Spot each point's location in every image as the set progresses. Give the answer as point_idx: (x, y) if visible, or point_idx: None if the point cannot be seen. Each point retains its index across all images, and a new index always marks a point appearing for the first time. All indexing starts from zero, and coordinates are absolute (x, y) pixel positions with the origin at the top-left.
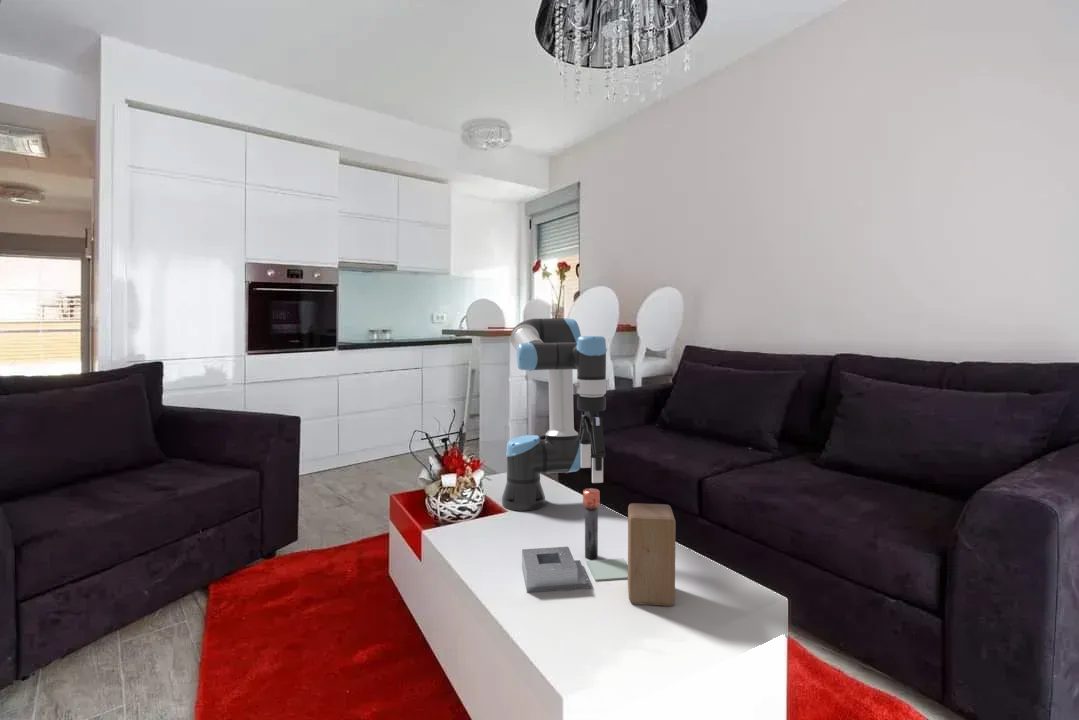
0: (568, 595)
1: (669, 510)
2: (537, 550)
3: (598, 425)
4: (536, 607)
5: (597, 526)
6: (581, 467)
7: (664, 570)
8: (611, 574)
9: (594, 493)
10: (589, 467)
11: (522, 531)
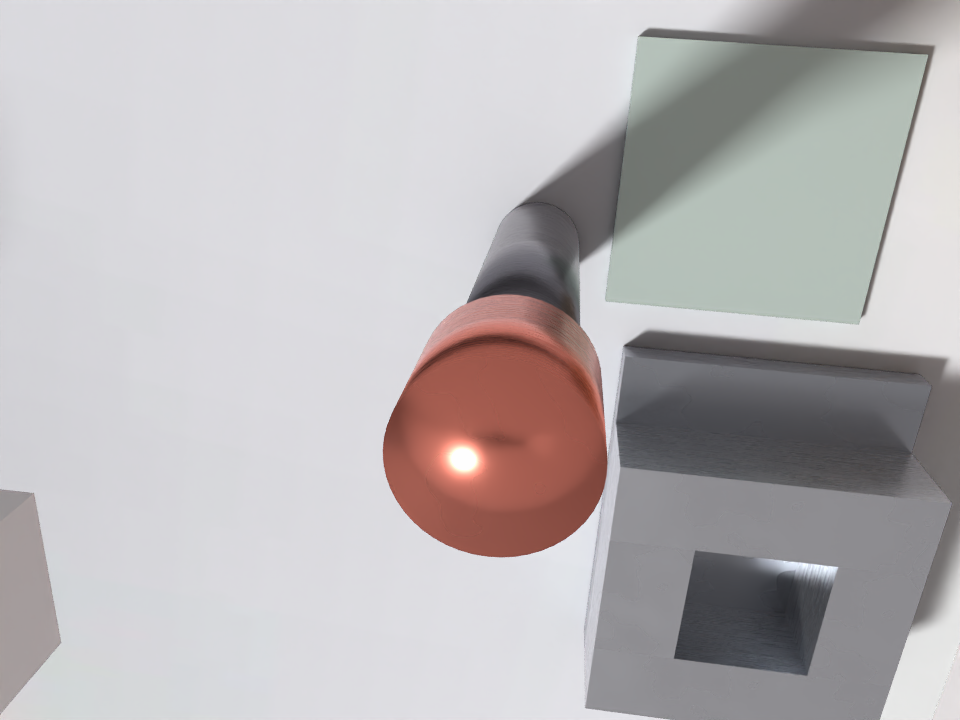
0: None
1: None
2: (624, 642)
3: None
4: None
5: (555, 266)
6: (54, 646)
7: None
8: (835, 206)
9: (602, 458)
10: (34, 517)
11: (119, 533)
